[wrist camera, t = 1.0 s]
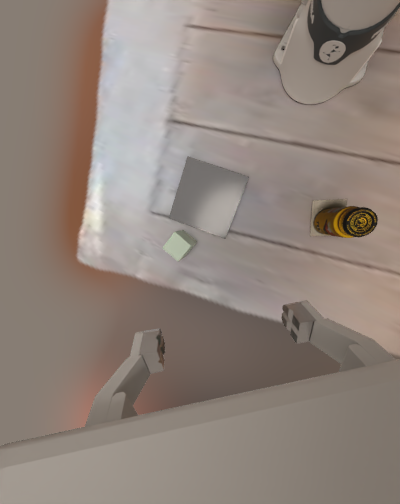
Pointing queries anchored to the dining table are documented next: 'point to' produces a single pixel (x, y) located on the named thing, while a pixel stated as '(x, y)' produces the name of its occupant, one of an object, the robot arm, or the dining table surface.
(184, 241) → the block
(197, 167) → the board
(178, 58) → the dining table surface
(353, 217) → the condiment
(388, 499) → the robot arm
